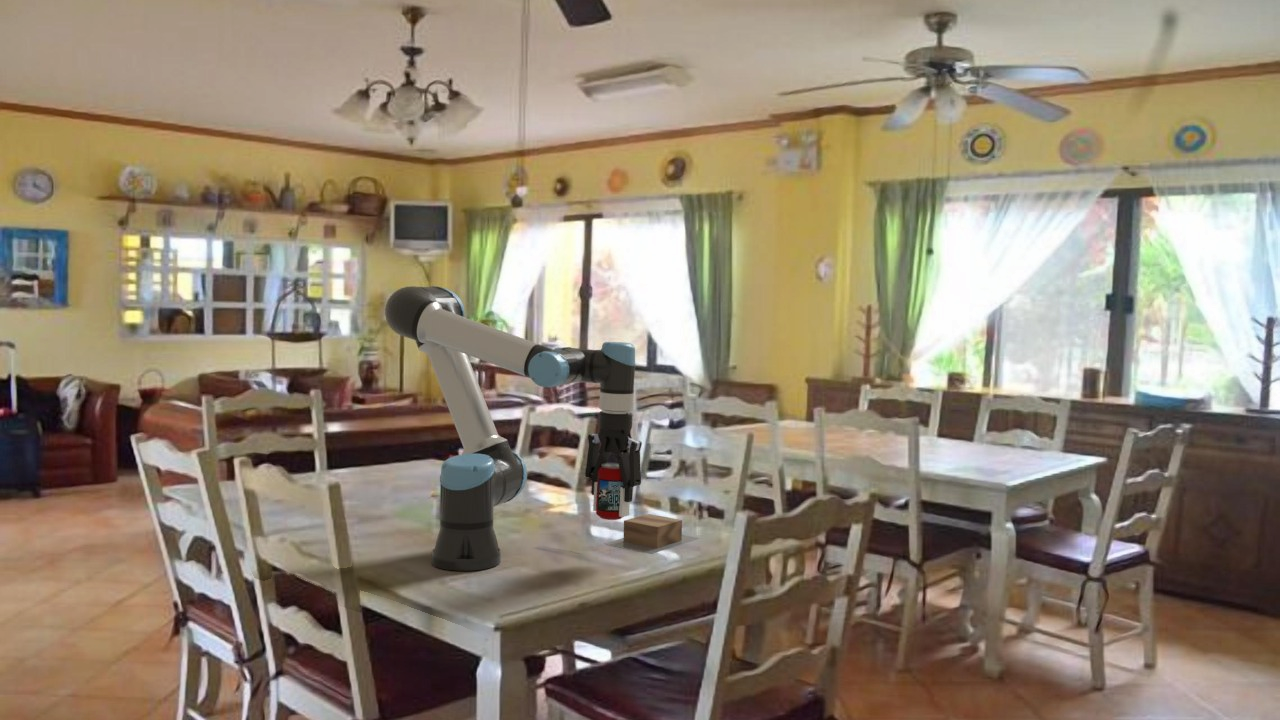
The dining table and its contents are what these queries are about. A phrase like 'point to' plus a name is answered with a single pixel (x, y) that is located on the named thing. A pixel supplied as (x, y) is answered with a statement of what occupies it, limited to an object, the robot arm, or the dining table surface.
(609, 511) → the beverage can
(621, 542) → the flat plate
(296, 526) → the dining table surface
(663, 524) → the walnut block
